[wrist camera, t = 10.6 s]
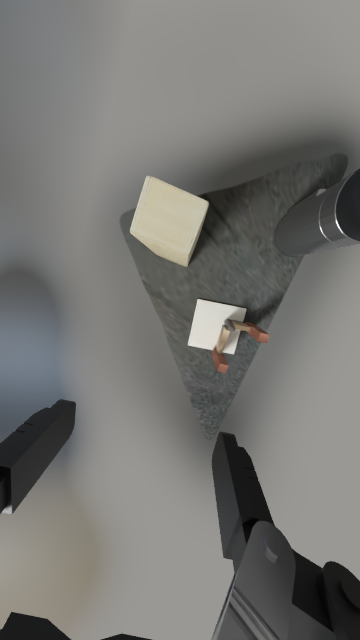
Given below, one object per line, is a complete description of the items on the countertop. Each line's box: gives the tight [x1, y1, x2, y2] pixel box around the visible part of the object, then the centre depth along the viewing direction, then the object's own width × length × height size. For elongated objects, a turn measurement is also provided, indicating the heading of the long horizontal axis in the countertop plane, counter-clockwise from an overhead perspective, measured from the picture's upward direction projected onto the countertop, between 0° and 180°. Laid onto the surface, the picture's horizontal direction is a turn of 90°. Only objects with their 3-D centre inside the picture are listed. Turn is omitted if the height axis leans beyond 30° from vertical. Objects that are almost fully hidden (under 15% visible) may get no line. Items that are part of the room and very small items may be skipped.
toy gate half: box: [212, 326, 230, 373], centre depth 41 cm, size 8×2×9 cm, turn 164°
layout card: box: [188, 299, 247, 354], centre depth 45 cm, size 12×12×1 cm
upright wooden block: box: [130, 176, 209, 267], centre depth 32 cm, size 8×7×21 cm
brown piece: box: [224, 319, 269, 343], centre depth 40 cm, size 2×7×10 cm, turn 79°
